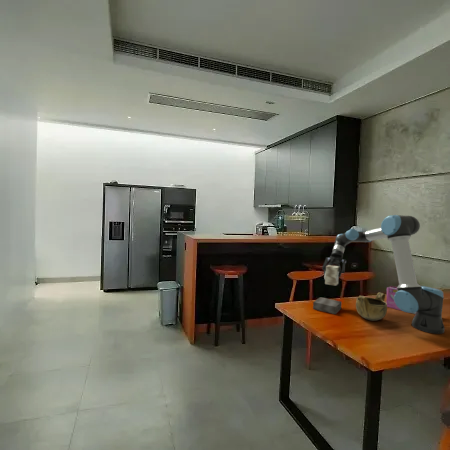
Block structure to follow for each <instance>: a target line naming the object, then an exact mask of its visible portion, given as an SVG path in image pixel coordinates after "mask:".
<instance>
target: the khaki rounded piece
mask: <svg viewBox="0 0 450 450" xmlns="http://www.w3.org/2000/svg"><path fill="white" fill-rule="evenodd" d="M385 298H386V295H385V293H383V292H381V291H380V292H377V294H376V295H375V297H368V296H364V295H359V296H357V297H356V301H355V309H356V312H357V313H358V315H359V316H361V317H362V318H364V319H365V320H368V321H371V322H375V321H379V320H382V319H383V318H385V316H386V314H387V310H388V307H387V303H386V302H387V301H385Z"/></svg>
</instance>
